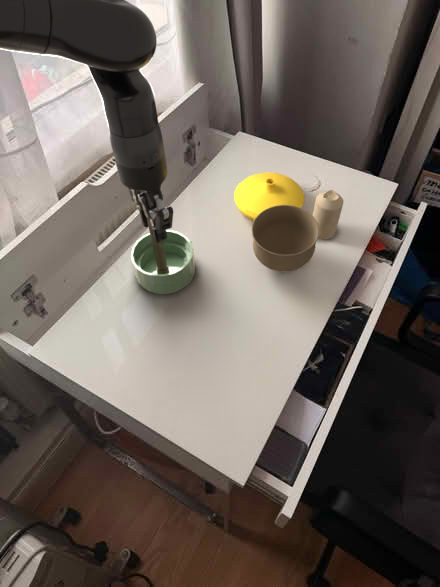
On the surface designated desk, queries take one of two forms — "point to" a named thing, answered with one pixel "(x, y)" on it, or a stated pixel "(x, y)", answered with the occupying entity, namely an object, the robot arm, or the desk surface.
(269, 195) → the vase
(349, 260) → the desk surface
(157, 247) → the stirring stick
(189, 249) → the mixing bowl
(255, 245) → the bowl
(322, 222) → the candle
